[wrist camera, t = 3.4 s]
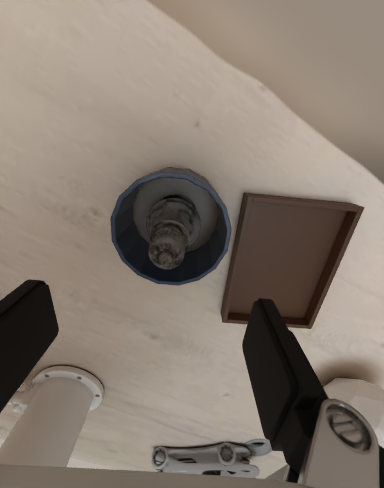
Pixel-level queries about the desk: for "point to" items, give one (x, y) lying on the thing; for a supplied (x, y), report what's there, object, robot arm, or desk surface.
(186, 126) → the desk surface
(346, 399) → the geodesic sphere
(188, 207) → the salt shaker
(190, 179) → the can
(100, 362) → the desk surface
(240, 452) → the car model
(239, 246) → the tray
